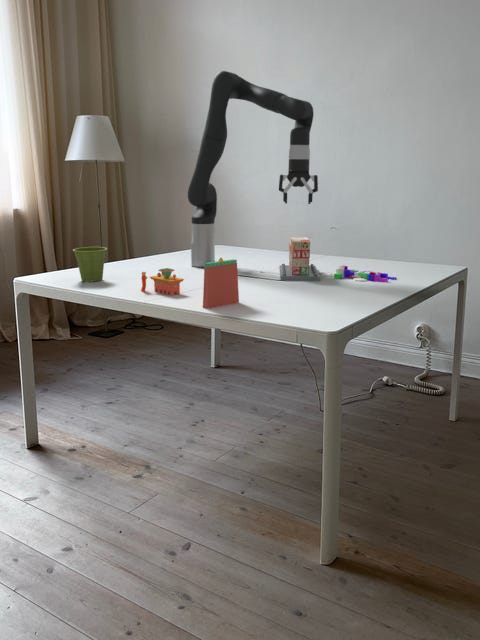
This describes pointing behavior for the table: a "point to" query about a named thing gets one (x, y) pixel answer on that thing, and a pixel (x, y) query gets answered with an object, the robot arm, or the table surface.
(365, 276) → the building block set
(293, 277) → the baseplate
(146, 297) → the table surface
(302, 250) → the stack of blocks
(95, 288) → the table surface
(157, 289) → the toy building block set
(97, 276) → the plant pot
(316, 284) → the table surface
